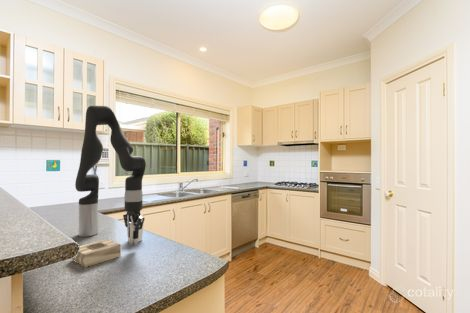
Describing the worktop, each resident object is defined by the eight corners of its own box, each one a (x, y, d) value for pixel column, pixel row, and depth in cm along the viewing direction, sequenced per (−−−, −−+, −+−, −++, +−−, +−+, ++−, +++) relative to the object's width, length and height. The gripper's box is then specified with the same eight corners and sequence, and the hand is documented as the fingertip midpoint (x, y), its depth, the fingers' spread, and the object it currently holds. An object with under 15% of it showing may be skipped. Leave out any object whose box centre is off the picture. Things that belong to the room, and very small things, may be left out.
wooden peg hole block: (72, 260, 100) (72, 247, 100) (106, 249, 111) (106, 238, 111) (85, 267, 93) (85, 254, 93) (120, 255, 104) (120, 243, 104)
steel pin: (128, 244, 109) (128, 222, 109) (134, 243, 112) (134, 221, 112) (132, 246, 108) (132, 223, 108) (138, 244, 110) (138, 222, 110)
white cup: (127, 239, 126) (127, 220, 127) (143, 237, 129) (143, 218, 129) (126, 244, 119) (126, 223, 119) (143, 242, 122) (143, 222, 122)
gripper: (117, 199, 111) (117, 237, 111) (134, 202, 103) (134, 243, 103) (132, 197, 117) (132, 232, 117) (150, 200, 109) (150, 238, 109)
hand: (133, 237), depth 110 cm, fingers closed on steel pin, 3 cm apart
